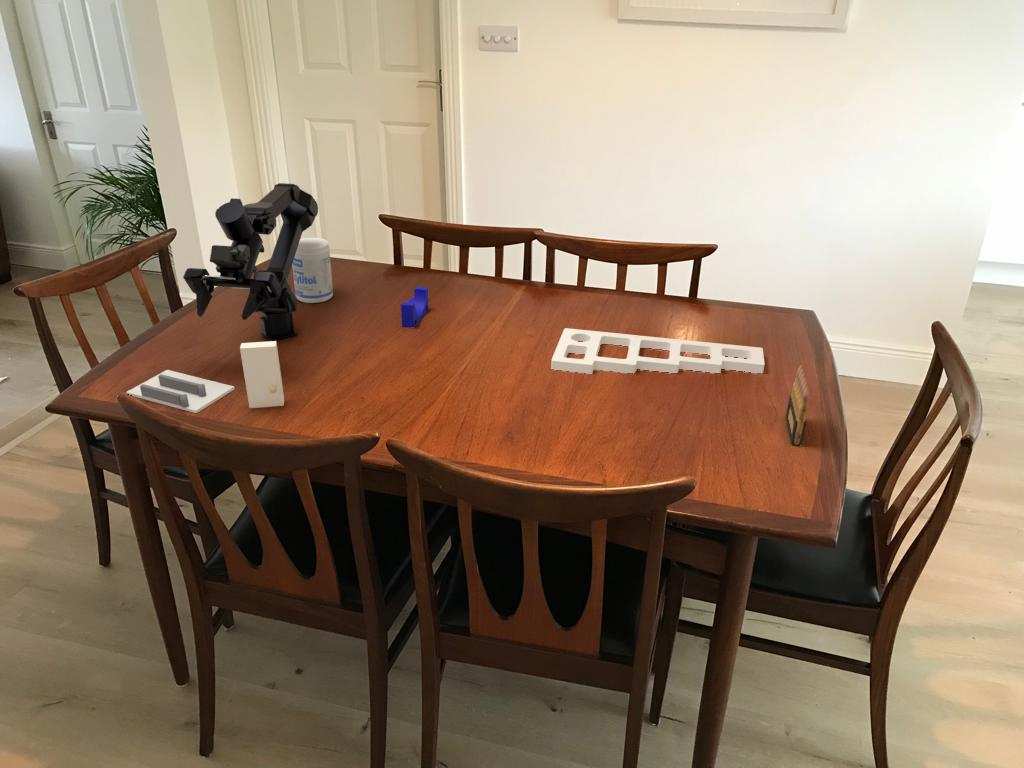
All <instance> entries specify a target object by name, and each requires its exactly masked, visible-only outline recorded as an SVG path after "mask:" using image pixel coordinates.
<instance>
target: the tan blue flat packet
mask: <svg viewBox="0 0 1024 768" xmlns="http://www.w3.org/2000/svg"><path fill="white" fill-rule="evenodd" d="M809 389H810V388H809V386H808V381H807V378H806V374H805V370H804V367H803V364H800V365H799V367H798V369H797V372H796V374H795V377H794V381H793V385H792V388H791V394H790V395H789V397H788V402H787V406H786V412H785V423H786V422H787V423H786V427H787V428H786V429H787V433H788V432H789V433H788V437H790V438H789V442H790V441H791V443H790V445H791V444H792V445H791V446H794V445H802V446H803V440H804V435H805V430H806V425H807V414H808V405H809V399H810V390H809Z"/></svg>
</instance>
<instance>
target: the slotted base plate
mask: <svg viewBox="0 0 1024 768" xmlns="http://www.w3.org/2000/svg"><path fill="white" fill-rule="evenodd" d="M234 390H235V386H233V385H230V384H225V383H221V382H218V381H214V380H209V379H205V378H201V377H198V376H194V375H189V374H187V373H186V374H185V373H182V372H178V371H174V370H170V369H166V370H164V371H162V372H160V373H158V374H157V375H155V376H153V377H151V378H149V379H148V380H145V381H144V382H142V383H140V384H138V385H136V386H134V387H132V389H129V390H127V391H126V392H125V393H126V395H127V394H129V395H128V396H130V395H132V396H131V397H135V398H137V399H142V400H146V401H150V402H153V403H157V404H160V405H163V406H168V407H172V408H175V409H179V410H183V411H186V412H190V413H194V414H197V413H199V412H201V411H203V410H204V409H205V408H207V407H209V406H210V405H212V404H214V403H215V402H217V401H219V400H220V399H221V398H223V397H225V396H226V395H228V394H229V393H231V392H233V391H234Z"/></svg>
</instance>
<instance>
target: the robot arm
mask: <svg viewBox="0 0 1024 768" xmlns="http://www.w3.org/2000/svg"><path fill="white" fill-rule="evenodd" d="M214 213H215V214H214V215H215V218H216V220H217V222H218V224H219V226H220V227H221V229H222V232H223V233H224V235H225V237H226V238H227V239H228V240H230V241H232V242H231V245H220V244H219V245H218V244H217V245H214V244H213V245H212V246H211V250H210V257H209V262H210V263H213V264H215V270H216V273H220V275H211V274H210V273H209V271H208V270H207V268H197V267H188V268H187V269H186V270H185V272H184V273H183V274H184V275H183V277H182V278H183V280H184V281H185V283H186V284H187V286H188V288H189V289H190V291H191V292H192V293H193V294H195V297H196V299H195V300H196V314H197V316H198V318H201V317H203V315H204V314H205V312H206V310H207V308H208V306H209V304H210V302H211V300H212V298H213V295H212V293H214V289H215V287H221V288H222V287H223V288H224V287H225V288H232V289H242V290H243V289H244V290H249V293H248V296H247V300H246V301H245V303H244V304H245V305H244V307H243V310H242V313H241V318H242V320H243V321H245V320H247V319H248V318H249V317H251V316H252V315H253V314H254V313H260V315H261V316H259V322H260V329H261V330H260V333H261V334H262V335H263V336H265V337H266V338H267V339H269V340H270V341H279V340H283V339H286V338H291V337H294V336H296V335H297V336H298V332H297V331H296V330H295V327H294V318H293V313H294V312H297V308H298V299H297V297H296V295H295V293H293V291H292V288H291V285H290V283H289V275H290V272H291V268H292V263H293V260H294V257H295V254H296V251H297V248H298V244H299V241H300V239H302V238H301V237H302V235H303V232H304V231H306V230H308V229H309V228H310V227H312V225H314V224H313V223H314V221H315V219H316V217H317V216H318V213H319V205H318V202H317V201H316V199H315V198H314V197H313V196H312V195H311V194H310V193H308V192H306V191H305V190H302V189H301V188H300V187H299V185H297V184H295V183H284V182H283V183H281V182H279V183H276V184H275V185H274V187H273V189H271V190H270V191H269V192H268V193H267V194H265V196H264V197H262V198H261V199H260V200H259V201H258V202H253V203H248V204H243V202H242V200H241V198H230V199H229V202H225V203H224V204H221V206H219V207H218V208H217V209H216V210H215V212H214ZM279 216H281V220H282V225H281V227H280V231H279V233H278V236H277V240H276V242H275V246H274V248H273V251H272V254H271V258H270V260H269V264H268V266H267V269H266V270H263V269H258V267H257V266H256V263H257V261H258V257H259V255H260V254H261V253H262V254H264V253H265V247H264V245H263V242H264V240H263V239H262V236H260V235H266V236H268V235H271V233H273V231H274V230H275V228H276V227H277V218H278V217H279ZM253 273H254V274H253ZM252 275H253V278H252Z"/></svg>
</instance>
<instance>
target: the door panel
mask: <svg viewBox="0 0 1024 768" xmlns="http://www.w3.org/2000/svg"><path fill="white" fill-rule="evenodd" d="M239 351H240V357H241V364H242V368H243V370H242V371H243V376H244V380H245V381H244V382H245V388H246V389H245V390H246V394H247V400H248V408H249V409H255V408H256V409H257V408H270V407H271V408H272V407H283V406H284V405H285V395H284V389H283V379H282V372H281V365H280V359H279V351H278V345H277V340H275V341H271V340H270V341H269V340H268V341H255V342H242V343H240V346H239Z"/></svg>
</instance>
